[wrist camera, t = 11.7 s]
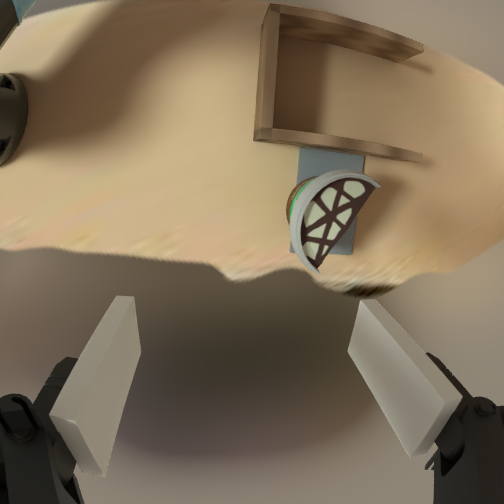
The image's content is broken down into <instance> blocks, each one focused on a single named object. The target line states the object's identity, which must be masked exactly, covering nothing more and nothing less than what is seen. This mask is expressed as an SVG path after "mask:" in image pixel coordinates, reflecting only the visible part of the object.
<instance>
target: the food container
mask: <svg viewBox="0 0 504 504" xmlns="http://www.w3.org/2000/svg"><path fill="white" fill-rule="evenodd" d="M379 185H380V184H379V183H377V182H376V181H375V180H373V179H372V178H371V177H369V176H367V175H366V174H364V173H361V172H358V171H355V170H347V169H343V170H335V171H330V172H328V173H325V174H323V175H321V176H313V177H311V178H308V179H305V180H303V181H302V182H301V183H299V184H298V185H297V186H296V187H295V188H294V189H293V191H292V192H291V194H290V196H289V199H288V202H287V207H286V214H287V220H288V223H289V225H290V237H291V242H292V246H293V248H294V250H295V253H296V254H297V256H298V258H299V259H300V261H301V262H302V263H303V264H304V265H305V266H306V267H307V268H309V269H310V270H311V271H313V272H315V273H317V272H318V273H319V274H320V272H319V270H318V267H319V266H320V265H321V263H322V262H323V260H324V259H325V257H326V256H327V254H328V253H329V252H330V250H331V249H332V248H333V247H334V245H335V244H336V243H337V242H338V240H339V239H340V238H341V237H342V236H343V234H344V233H345V232H346V231H347V230H348V228H349V227H350V225H351V224H352V222H353V220H354V219H355V217H356V215H357V214H358V212H359V210H360V209H361V207H362V206H363V204H364V203H365V202H366V200H367V199H368V197H369V196H370V194H371V193H372V191H373V190H374V188H375V187H379V188H381V186H379Z"/></svg>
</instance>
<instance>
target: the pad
mask: <svg viewBox="0 0 504 504" xmlns="http://www.w3.org/2000/svg"><path fill="white" fill-rule="evenodd" d="M363 161H364V156H359V155H352V154H346V153H339V152H332V151H325V150H317V149H309V148H300V151H299V163H298V175H297V185H298V184H299V183H301V182H302V181H303V180H305V179H308V178H311V177H313V176H321V175H323V174H325V173H328V172H330V171H335V170H343V169H347V170H355V171H358V172H361V173H362V171H363ZM356 220H357V215H356V217H355V219H354V220H353V222H352V224H351V225H350V227H349V228H348V230H347V231H346V232H345V233H344V234H343V236H342V237H341V238H340V239H339V240H338V242H337V243H336V244H335V245H334V247H333V248H332V249H331V250H330V252H329V253H328V254H341V255H351V252H352V246H353V240H354V234H355V227H356ZM290 253H295V250H294V248H293V246H292V242H291V246H290Z"/></svg>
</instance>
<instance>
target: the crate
mask: <svg viewBox="0 0 504 504" xmlns="http://www.w3.org/2000/svg"><path fill="white" fill-rule="evenodd" d="M279 35H282V36H289V37H295V38H302V39H307V40H313V41H318V42H323V43H328V44H332V45H337V46H341V47H345V48H349V49H353V50H357V51H361V52H365V53H368V54H372V55H375V56H379V57H382V58H385V59H388V60H391V61H394V62H399V61H402V60H404V59H407V58H409V57H412V56H414V55H417V54H420V53H422V52H424V49H423V44H421V43H419V42H417V41H414V40H412V39H409V38H406V37H404V36H401V35H399V34H396V33H393V32H390V31H387V30H384V29H381V28H378V27H375V26H372V25H369V24H366V23H362V22H359V21H355V20H352V19H348V18H344V17H340V16H336V15H332V14H328V13H323V12H318V11H314V10H308V9H303V8H297V7H291V6H285V5H278V4H270V5H269V7H268V10H267V13H266V16H265V19H264V21H263V24H262V32H261V45H260V58H259V71H258V84H257V97H256V111H255V124H254V138H253V141H260V142H272V143H283V144H293V145H302V146H310V147H318V148H326V149H333V150H340V151H346V152H353V153H359V154H365V155H371V156H376V157H382V158H387V159H392V160H400V161H409V162H417V163H421V156H422V153H418V152H413V151H409V150H405V149H401V148H396V147H392V146H387V145H382V144H377V143H372V142H367V141H362V140H356V139H350V138H344V137H338V136H332V135H325V134H318V133H311V132H303V131H295V130H286V129H276V128H272V127H273V113H274V99H275V85H276V70H277V55H278V40H279Z"/></svg>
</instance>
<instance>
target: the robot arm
mask: <svg viewBox="0 0 504 504" xmlns="http://www.w3.org/2000/svg"><path fill="white" fill-rule="evenodd" d="M36 1H37V0H0V50H1V48H2V47H3V45H4V44H5V42H6V41H7V40H8V38H9V37H10V36H11V34H12V33H13V31H14V30H15V29H16V28H17V26H19V25H20V24H21V23H22V19H23V18H24V17H25V15H26V14H27V12H28V11H29V10H30V9H31V8H32V6H33V5H34V4H35V2H36ZM27 112H28V102H27V95H26V91H25V88H24V86H23V84H22V83H21V81H20V80H19V79H18V78H16V77H15V76H12V75H9V74H5V73H0V165H2V164H3V163H4V162H6V161H7V160H8V159H9V158H10V156H11V155H12V154H13V153H14V151H15V150H16V148H17V146H18V144H19V142H20V140H21V138H22V135H23V132H24V129H25V125H26V120H27ZM348 353H349V354H350V356H351V358H352V359H353V361H354V363H355V364H356V366H357V368H358V369H359V371H360V373H361V374H362V376H363V378H364V380H365V381H366V383H367V385H368V386H369V388H370V390H371V392H372V393H373V395H374V397H375V398H376V400H377V402H378V404H379V405H380V407H381V409H382V411H383V412H384V414H385V416H386V417H387V419H388V421H389V423H390V425H391V426H392V428H393V430H394V432H395V433H396V435H397V437H398V439H399V441H400V442H401V444H402V446H403V448H404V450H405V451H406V453H407V455H408V457H409V458H413V457H416V456H419V455H421V454H424V453H427V452H428V450H429V449H430V447H431V446H432V445H433V443H434V442H435V443H436V445H437V446H438V449H437V451H436V452H435V453H434V455H433V456H432V457H431V459H430V460H429V461H428V462H427V464H426V466H425V470H426V469H428V468H429V467H430V466H431V464H432V463H433V462H434V466H433V467H432V469H431V470H434V502H433V504H504V406H496V405H495V404H494V403H493V402H492V401H491V400H489V399H487V398H484V397H474V398H473V397H472V396H471V395H470V394H469V392H468V391H467V390H466V389H465V388H464V387H463V385H462V384H461V383H460V382H459V381H458V380H457V379H456V377H455V376H454V375H452V373H451V372H450V371H449V370H448V369H446V367H445V365H444V364H443V363H442V362H441V361H440V360H439V359H438V358H437V357H435V356H433V355H431V354H430V353H424V351H423V350H422V349H421V348H420V347H419V346H418V345H417V344H416V342H414V340H413V339H412V338H411V337H410V336H409V335H408V334H407V333H406V332H405V330H403V328H402V327H401V326H400V325H399V324H398V323H397V322H396V321H395V320H394V319H393V318H392V316H390V314H389V313H388V312H387V311H386V310H385V309H384V308H383V307H382V306H381V305H380V304H379V303H378V302H377V301H376V300H375V299H374V300H360V304H359V308H358V313H357V317H356V321H355V325H354V330H353V333H352V337H351V341H350V345H349V348H348ZM140 354H141V347H140V341H139V334H138V326H137V318H136V310H135V302H134V297H127V296H116V298H115V299H114V301H113V302H112V304H111V305H110V307H109V309H108V310H107V312H106V313H105V315H104V317H103V318H102V320H101V321H100V324H99V325H98V326H97V328H96V330H95V332H94V333H93V335H92V336H91V338H90V340H89V342H88V343H87V345H86V347H85V349H84V350H83V352H82V354H81V356H80V357H79V359H77V358H71V357H66V358H64V359H63V360H62V361H61V362H60V363H58V364H57V365H56V366H55V368H54V369H53V371H52V373H51V374H50V377H48V379H47V381H46V382H45V385H44V386H43V388H42V389H41V391H40V393H39V395H38V396H37V398H36V400H35V401H34V403H33V404H32V403H31V401H30V400H29V399H28V398H27V397H26V396H23V395H21V394H9V395H5V396H3V397H1V398H0V504H84V501H83V498H82V495H81V491H80V488H79V485H78V481H77V478H76V477H75V475H74V473H73V471H74V468H75V465H76V463H77V464H78V466H79V468H80V469H81V471H82V472H84V473H89V474H93V475H98V476H102V477H105V476H106V472H107V468H108V464H109V460H110V456H111V451H112V448H113V444H114V440H115V437H116V433H117V429H118V426H119V422H120V419H121V415H122V412H123V408H124V405H125V402H126V398H127V395H128V392H129V388H130V385H131V382H132V379H133V375H134V372H135V369H136V366H137V363H138V360H139V357H140Z"/></svg>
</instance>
